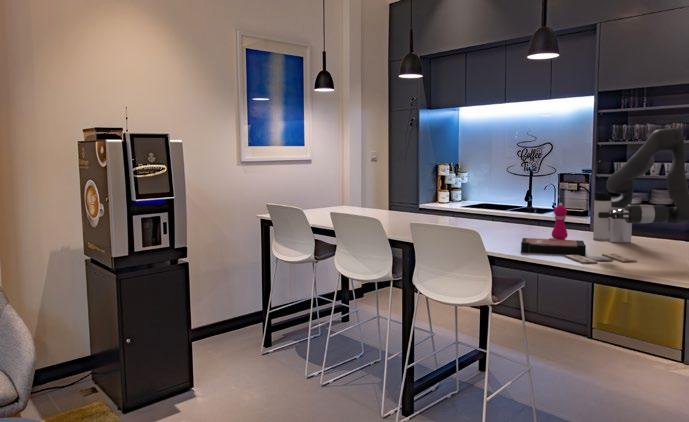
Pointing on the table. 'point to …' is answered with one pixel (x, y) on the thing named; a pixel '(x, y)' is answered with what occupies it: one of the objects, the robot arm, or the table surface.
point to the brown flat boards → (600, 258)
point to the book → (553, 246)
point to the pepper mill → (560, 223)
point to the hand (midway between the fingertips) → (595, 214)
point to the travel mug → (602, 224)
